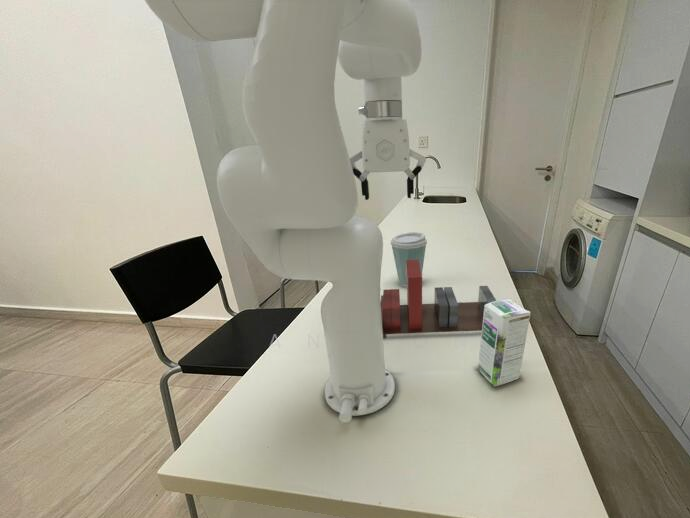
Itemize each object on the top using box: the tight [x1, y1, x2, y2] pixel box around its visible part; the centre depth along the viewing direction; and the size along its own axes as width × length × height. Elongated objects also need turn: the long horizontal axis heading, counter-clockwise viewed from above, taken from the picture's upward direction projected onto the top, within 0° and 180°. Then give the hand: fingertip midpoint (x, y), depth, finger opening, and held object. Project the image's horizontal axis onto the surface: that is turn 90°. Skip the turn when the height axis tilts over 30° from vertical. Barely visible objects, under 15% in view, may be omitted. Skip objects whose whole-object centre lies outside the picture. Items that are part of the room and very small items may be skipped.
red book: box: [406, 260, 423, 329], centre depth 78 cm, size 11×3×13 cm, turn 1°
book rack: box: [380, 285, 497, 339], centre depth 80 cm, size 14×28×7 cm, turn 91°
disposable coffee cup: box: [390, 231, 428, 286], centre depth 99 cm, size 11×11×15 cm
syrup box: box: [477, 298, 531, 388], centre depth 60 cm, size 6×6×14 cm
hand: (388, 198), depth 76 cm, fingers open, 9 cm apart
